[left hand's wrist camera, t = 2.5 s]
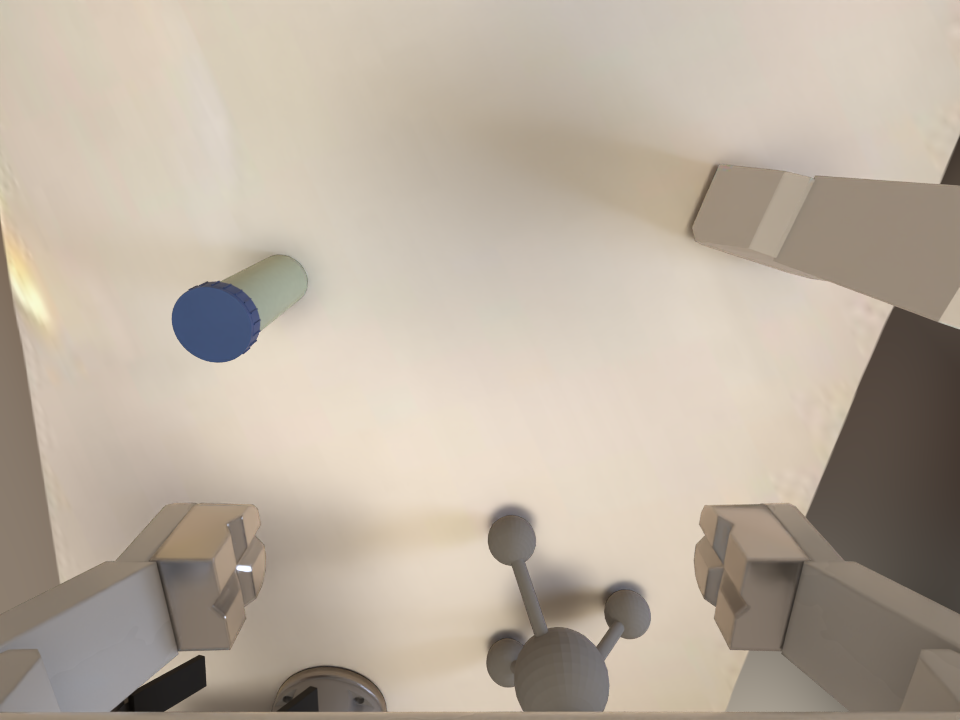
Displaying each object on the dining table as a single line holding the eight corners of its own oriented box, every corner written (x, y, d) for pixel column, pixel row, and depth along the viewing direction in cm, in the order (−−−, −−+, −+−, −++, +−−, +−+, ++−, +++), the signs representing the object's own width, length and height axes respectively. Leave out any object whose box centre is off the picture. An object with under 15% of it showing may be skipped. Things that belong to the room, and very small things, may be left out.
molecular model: (414, 622, 73) (373, 919, 45) (502, 496, 66) (519, 751, 38) (567, 689, 77) (618, 1000, 49) (664, 577, 70) (788, 861, 42)
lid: (275, 340, 45) (267, 348, 43) (207, 365, 45) (196, 374, 44) (238, 269, 43) (227, 274, 41) (167, 296, 43) (154, 302, 42)
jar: (316, 294, 58) (260, 342, 43) (272, 310, 58) (202, 364, 44) (293, 247, 56) (227, 281, 41) (248, 265, 57) (167, 304, 42)
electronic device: (832, 201, 54) (1209, 254, 26) (795, 274, 57) (1103, 394, 29) (715, 160, 53) (979, 170, 25) (682, 237, 56) (888, 325, 28)
